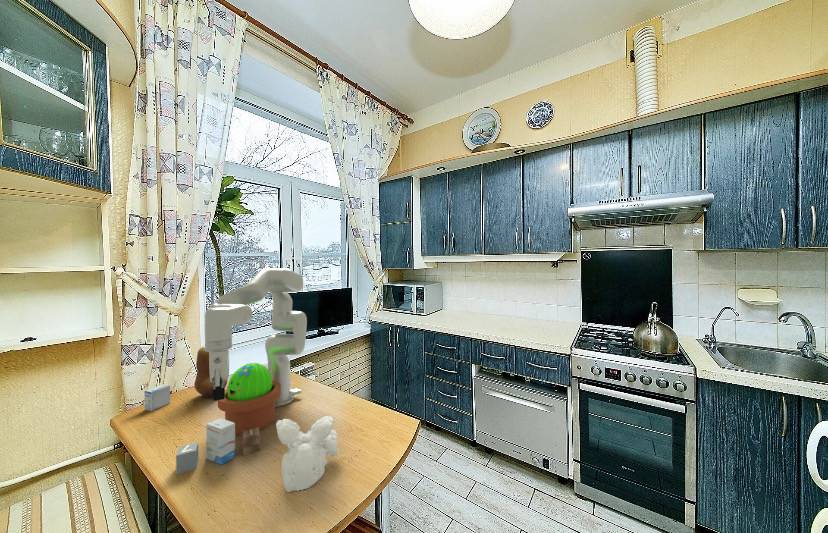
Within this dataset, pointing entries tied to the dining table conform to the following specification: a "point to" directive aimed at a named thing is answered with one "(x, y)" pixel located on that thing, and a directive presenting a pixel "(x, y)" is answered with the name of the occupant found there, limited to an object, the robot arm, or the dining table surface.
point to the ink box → (220, 441)
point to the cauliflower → (305, 452)
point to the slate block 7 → (187, 458)
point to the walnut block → (251, 441)
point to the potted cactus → (250, 398)
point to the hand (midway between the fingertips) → (218, 399)
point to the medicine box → (157, 397)
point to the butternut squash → (204, 374)
